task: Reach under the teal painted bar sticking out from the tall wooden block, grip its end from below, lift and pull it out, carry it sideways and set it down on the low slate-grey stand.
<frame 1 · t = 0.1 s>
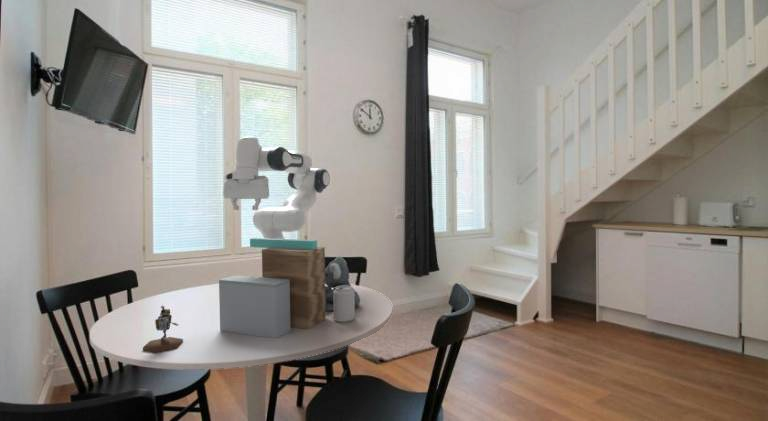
hand: (245, 210, 167), 39 cm above the table, tool pointing down, fingers open, 8 cm apart
koala plush: (338, 307, 166), on the table
can: (344, 320, 148), on the table
robot figurine: (163, 347, 124), on the table
tall wooden block: (294, 321, 147), on the table
teal bar: (282, 247, 148), point 26 cm above the table, touching tall wooden block
low stand: (255, 330, 138), on the table
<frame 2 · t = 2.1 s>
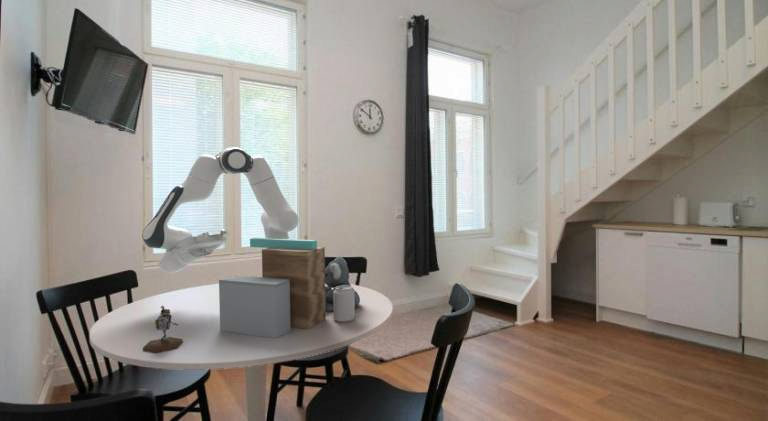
hand: (216, 232, 158), 31 cm above the table, tool pointing upward, fingers open, 8 cm apart
nothing on the table moved.
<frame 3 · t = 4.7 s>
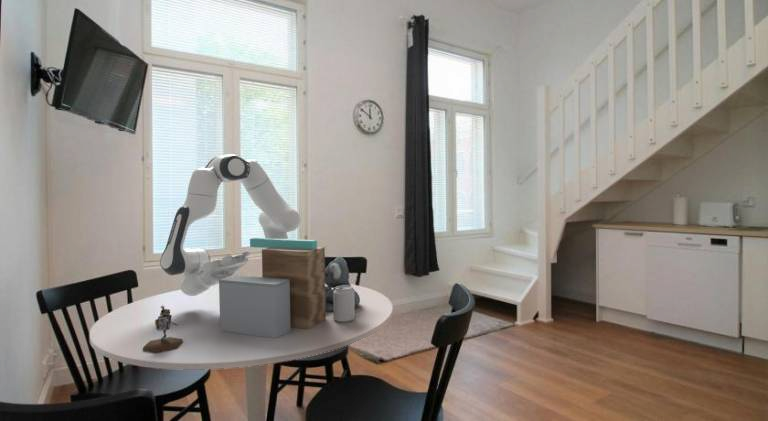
hand: (239, 254, 155), 23 cm above the table, tool pointing upward, fingers open, 8 cm apart
nothing on the table moved.
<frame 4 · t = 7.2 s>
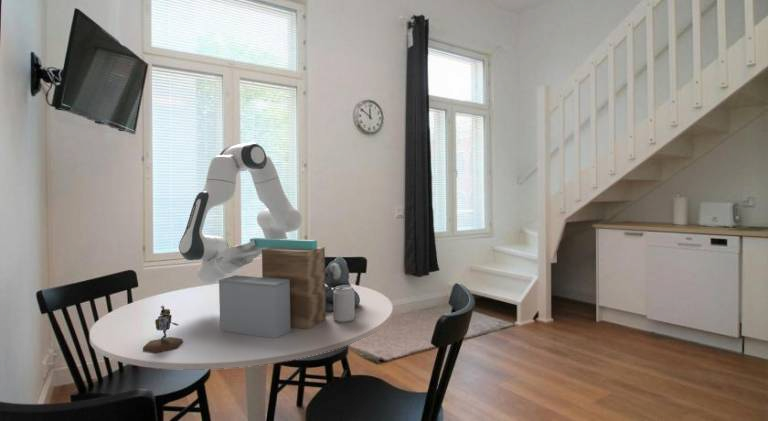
hand: (258, 241, 151), 28 cm above the table, tool pointing upward, fingers closed on teal bar, 3 cm apart
teal bar: (282, 247, 148), point 26 cm above the table, touching gripper, tall wooden block
everything else where it was.
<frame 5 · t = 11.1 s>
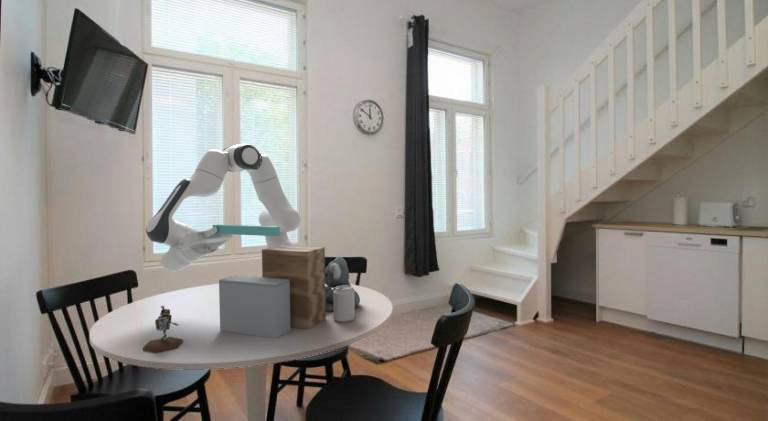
hand: (221, 227, 148), 33 cm above the table, tool pointing upward, fingers closed on teal bar, 3 cm apart
teal bar: (245, 234, 144), point 31 cm above the table, touching gripper
everything else where it was.
when the fingers open (20 cm above the table, at t = 15.2 s): teal bar drops 1 cm, resting on low stand.
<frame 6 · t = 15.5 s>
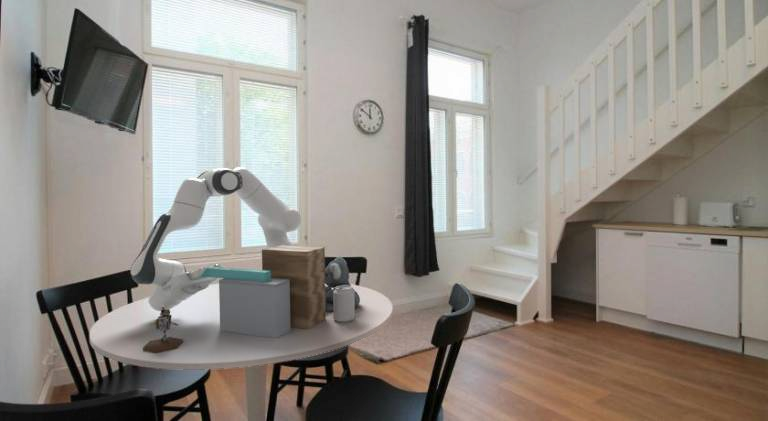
hand: (211, 267, 143), 20 cm above the table, tool pointing upward, fingers open, 5 cm apart
teal bar: (235, 278, 139), point 17 cm above the table, touching low stand
everything else where it was.
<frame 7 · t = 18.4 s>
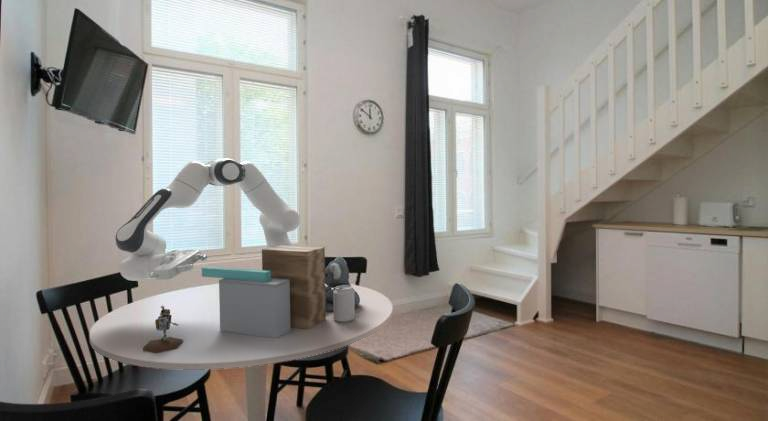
hand: (199, 262, 148), 21 cm above the table, tool horizontal, fingers open, 8 cm apart
nothing on the table moved.
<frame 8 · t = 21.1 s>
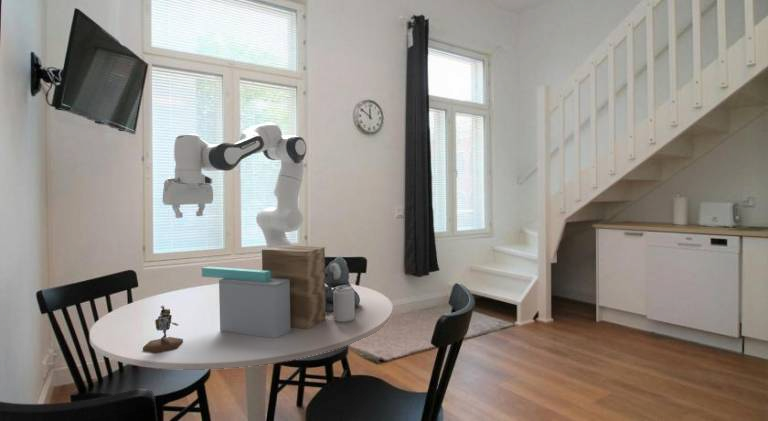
hand: (189, 217, 151), 37 cm above the table, tool pointing down, fingers open, 8 cm apart
nothing on the table moved.
at the end: teal bar inside the target area (0.1 cm from its centre), point 17.0 cm above the table; teal bar touching low stand; the gripper is holding nothing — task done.
